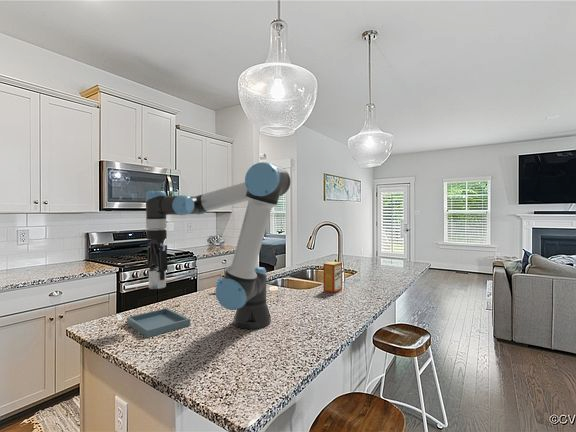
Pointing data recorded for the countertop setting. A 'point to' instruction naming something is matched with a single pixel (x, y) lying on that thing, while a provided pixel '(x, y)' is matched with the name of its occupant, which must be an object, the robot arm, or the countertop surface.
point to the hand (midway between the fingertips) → (157, 286)
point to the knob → (154, 279)
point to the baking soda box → (332, 276)
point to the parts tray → (157, 322)
